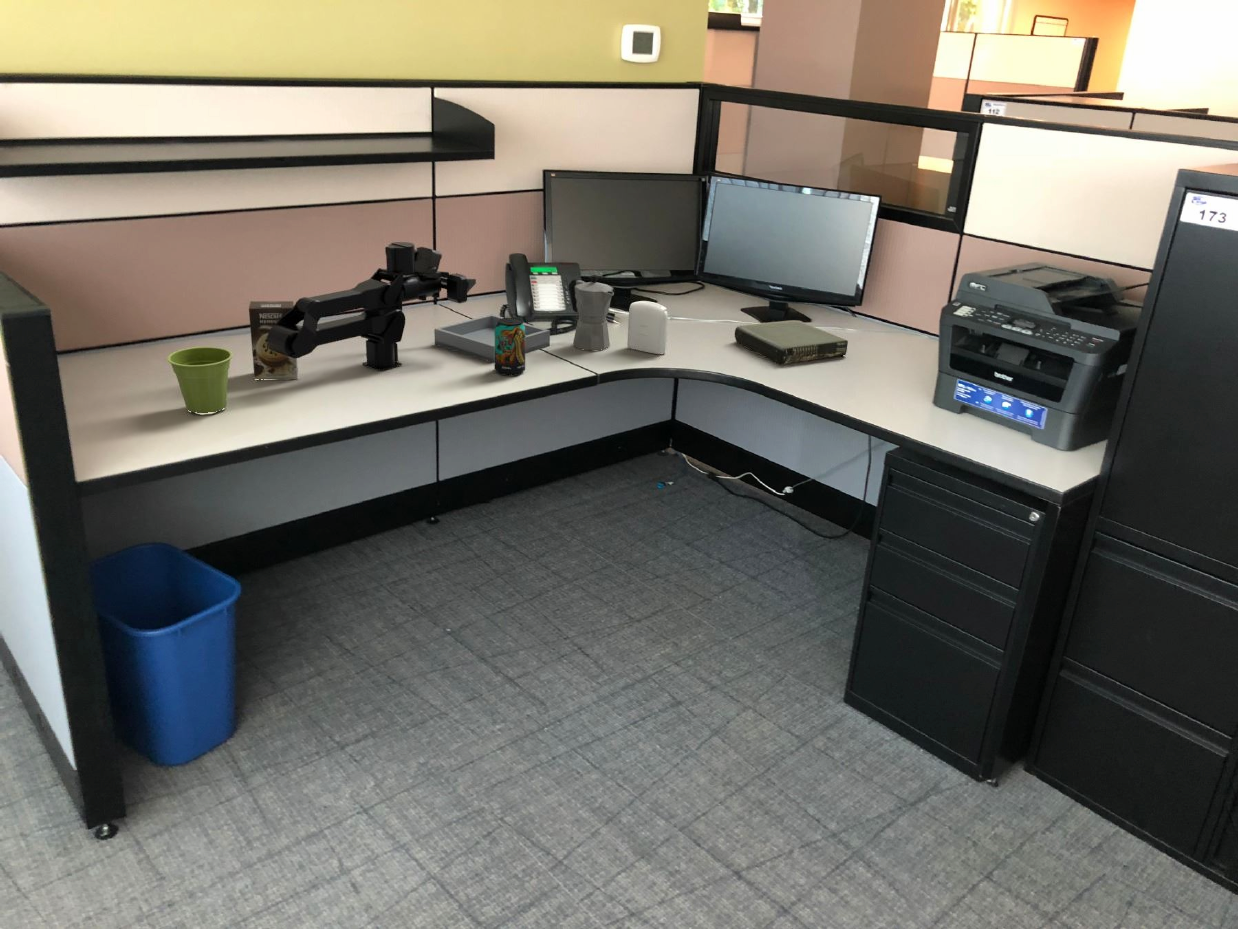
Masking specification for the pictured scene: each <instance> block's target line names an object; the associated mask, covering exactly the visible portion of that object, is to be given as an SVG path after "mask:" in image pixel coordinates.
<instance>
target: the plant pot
mask: <svg viewBox="0 0 1238 929" xmlns="http://www.w3.org/2000/svg"><path fill="white" fill-rule="evenodd" d="M233 354H234V353H233V352H232V351H231V350H229V349H226V348H224V347H223V348H222V347H217V346H193V347H188V348H183V349H179V350H176V351H174V352H173V351H172V353H170V354H168V356H167V357H166V360H167V361H168V363H169V364H171V365H170V366H171V368H172V371H173V373H174V374H175V377H176V379H177V382H178V384H179V385H178V386H179V388H180V391H181V394H182V395H181V396H182V398H183V401H184V404H185V408H186V411H187V410H189V411H191V412H197V413H208V412H216V411H219V410H222V409H223V408H225V407H226V408H227V397H228V396H227V395H228V380H229V369H230V364H231V359H232V358H233ZM226 408H225V409H226ZM219 412H220V411H219Z"/></svg>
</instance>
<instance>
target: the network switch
mask: <svg viewBox="0 0 1238 929" xmlns="http://www.w3.org/2000/svg"><path fill="white" fill-rule="evenodd" d="M734 339H735V342H736V343H737V344H739V345H740V344H741V345H740V346H742V345H743V346H742V347H744V346H745V347H744V348H746V347H747V348H746V349H748V348H749V350H750V349H751V351H752V350H753V352H754V351H755V352H754V353H756V352H757V354H758V353H759V354H758V355H760V354H761V355H760V356H762V355H763V356H762V357H764V358H766V359H767V358H768V360H770V361H771V360H772V361H771V362H773V363H775V362H776V363H775V364H778V365H779V364H780V365H779V366H784V365H787V364H790V363H793V362H794V363H798V362H807V361H813V360H816V359H817V360H818V361H819V360H820V359H825V358H830V357H839V356H841V355H845V356H846V354H847V352H848V343H849V340H847V339H845V338H842V337H839V336H837V335H836V334H835V335H834V334H833V333H830V332H827V331H826V330H823V329H821V328H818V327H817V326H816V327H815V326H813V325H810V324H808V323H805V322H803V321H801V320H793V319H792V320H782V321H771V322H763V323H753V324H752V323H751V324H742V325H737V326H736V328H735V330H734Z"/></svg>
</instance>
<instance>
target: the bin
mask: <svg viewBox="0 0 1238 929" xmlns="http://www.w3.org/2000/svg"><path fill="white" fill-rule="evenodd" d="M501 318H504V316H503V317H502V316H499V315H496V314H488V315H485V316H480V317H476V318H471V319H468V320H465V321H464V320H463V321H461V322H456V323H452V324H448V325H444V326H441V327H436V328H434V345H435V346H438V347H442V348H445V349H447V350H450V351H454V352H457V353H461V354H464V355H467V356H469V357H473V358H477V359H480V360H483V361H485V362H486V361H487V362H488V363H493V364H494V348H495V327H496V325H497V324H498V322H497V321H498V320H499V319H501ZM523 325H524V327H525V328H526V350H525V354H527V353H530V352H534V351H537V350H541V349H545V348H547V347H550V344H551V330H550V329H547V328H543V327H539V326H535V325H532V324H529V323H524V322H523Z"/></svg>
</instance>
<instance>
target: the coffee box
mask: <svg viewBox="0 0 1238 929" xmlns="http://www.w3.org/2000/svg"><path fill="white" fill-rule="evenodd" d="M294 305H295V304H294V301H293V300H289V301H288V300H286V301H285V300H283V301H279V300H277V301H274V300H273V301H271V300H270V301H268V300H267V301H260V300H259V301H250V302H249V306H248V313H249V315H248V316H249V326H250V328H249V329H250V338H251V351H252V362H253V363H252V364H253V365H252V366H253V375H254V376H253V379H259V380H261V379H263V380H261V381H265V380H264V379H296V380H298V379H299V378H298V377H299V367H298V358H291V357H288V356H286V355H283V354H280V353H277V352H275V351H273V350H271V349H270V348H269V346H268V343H267V336H268V333H269V332H270V330H271V328H272V327H273V326H275V324H276V323H277V321H278V320H279V318H280V317H282V316H283V315H284V314H285V313H287V312H288V311H289V310H291V309H292V308H293V307H294Z"/></svg>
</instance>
